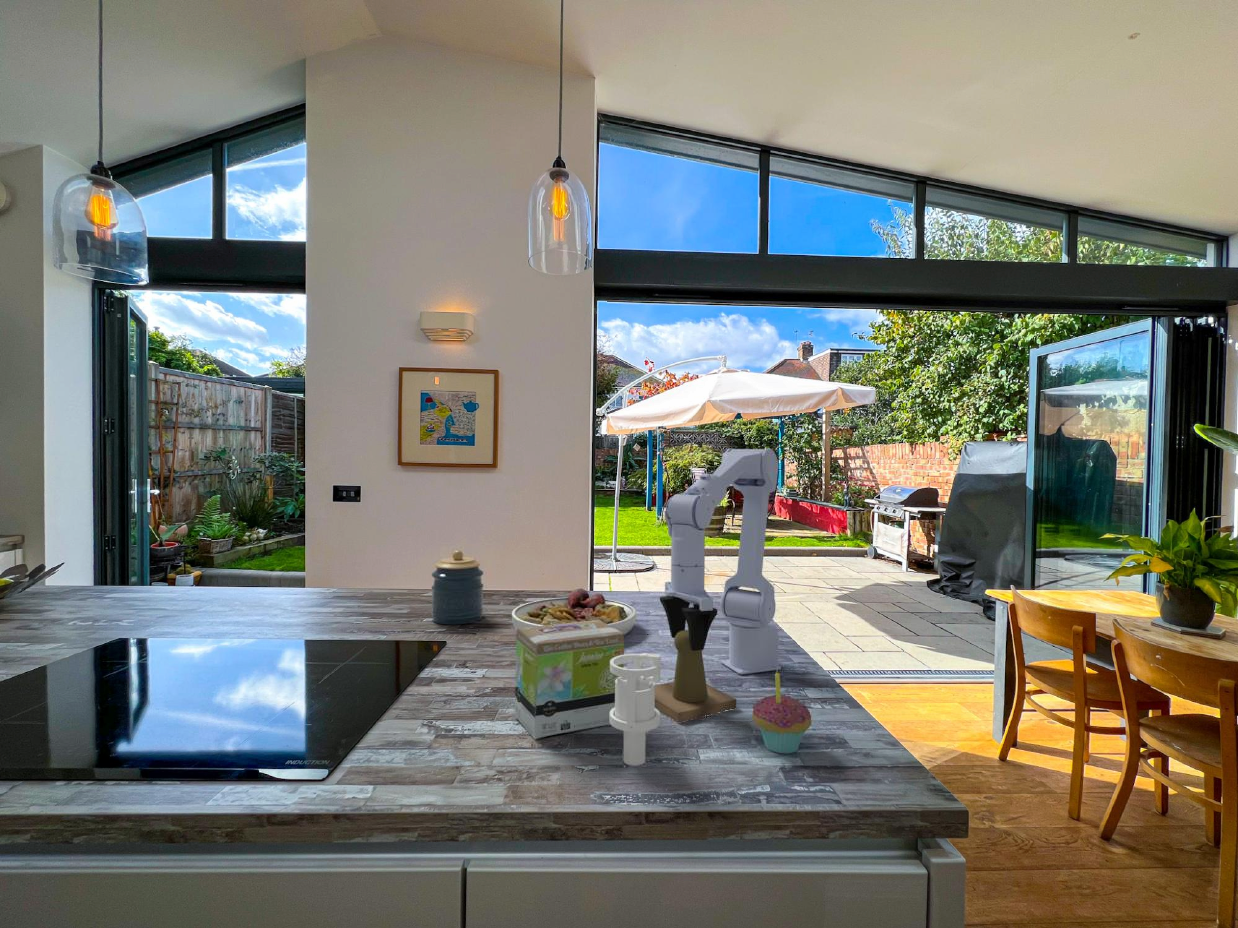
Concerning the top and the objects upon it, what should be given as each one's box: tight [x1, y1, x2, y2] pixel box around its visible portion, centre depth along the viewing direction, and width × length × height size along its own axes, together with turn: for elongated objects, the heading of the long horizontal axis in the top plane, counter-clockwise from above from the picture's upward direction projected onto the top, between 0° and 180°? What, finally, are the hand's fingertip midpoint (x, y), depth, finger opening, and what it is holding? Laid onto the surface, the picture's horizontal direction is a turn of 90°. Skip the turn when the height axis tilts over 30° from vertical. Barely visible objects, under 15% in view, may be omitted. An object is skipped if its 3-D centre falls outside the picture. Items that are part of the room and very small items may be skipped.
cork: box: [672, 629, 708, 703], centre depth 109 cm, size 6×6×11 cm
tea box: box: [514, 620, 625, 740], centre depth 102 cm, size 15×10×15 cm, turn 117°
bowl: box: [511, 588, 637, 636], centre depth 155 cm, size 30×30×8 cm
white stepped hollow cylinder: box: [609, 652, 662, 767], centre depth 89 cm, size 7×7×15 cm
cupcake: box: [752, 669, 812, 754], centre depth 94 cm, size 9×8×12 cm
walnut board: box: [649, 681, 737, 724], centre depth 110 cm, size 12×12×2 cm
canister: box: [431, 550, 484, 625], centre depth 165 cm, size 13×13×18 cm
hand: (687, 643), depth 110 cm, fingers open, 7 cm apart
